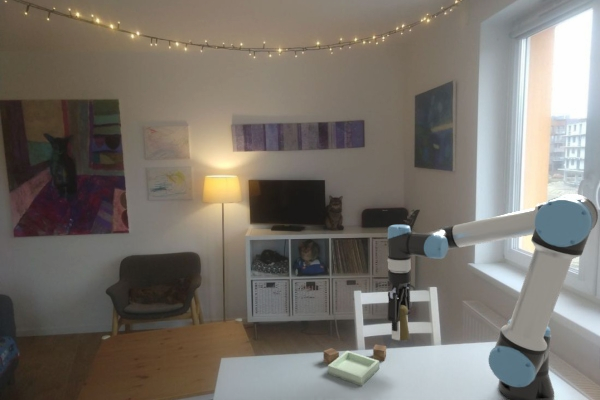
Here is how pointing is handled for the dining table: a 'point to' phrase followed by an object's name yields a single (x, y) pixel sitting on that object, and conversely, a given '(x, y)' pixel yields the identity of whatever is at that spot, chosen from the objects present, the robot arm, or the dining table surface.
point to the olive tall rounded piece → (403, 323)
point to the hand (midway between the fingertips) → (399, 335)
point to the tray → (353, 367)
